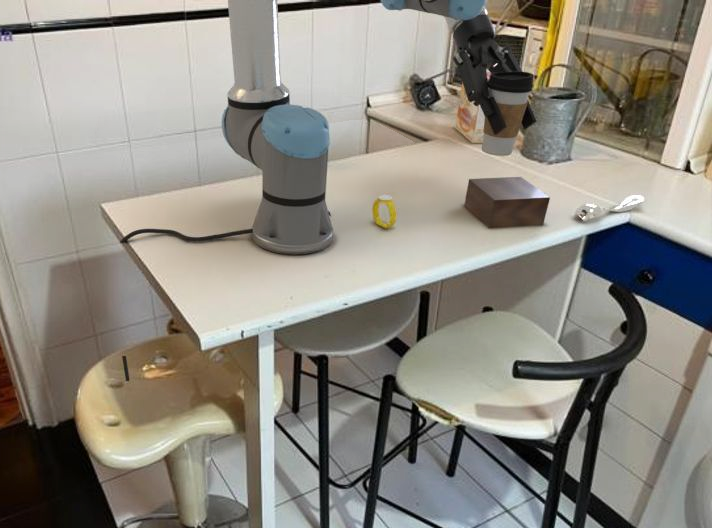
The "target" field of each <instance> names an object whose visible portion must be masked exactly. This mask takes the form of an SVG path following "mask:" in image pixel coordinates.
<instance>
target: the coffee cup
mask: <svg viewBox="0 0 712 528" xmlns="http://www.w3.org/2000/svg"><path fill="white" fill-rule="evenodd" d="M534 78H535V74H534V73H531V72H529V71H523V72H494V73H491V75H490V78H489V80H488V88H489V97H488V98H490V97H492V96H493V97H494V99H495V101H496V104H497V106H498V108H499V110H500V113H501V115H502V117H503V119H504V122H505V124H506V126H507V127H506V128H505V129H503V130H502V131H501V132H500V133H498V134H496V135H494V133H493V130H492V128H491V126H490V123H489V121H488V119H487V118H486V117H485V121H484V134H483V143H481V151H482V152H483V153H485V154H488V155H491V156H498V157H507V156H510V155H512V153H513V151H514V148H515V144H516V141H517V137H518V135H519V131H520V128H521V125H522V123H521V122H522V119H523V116H524V113H525V110H526V106H527V103H528V101H529V96H530V93H531V92H532V91H533V88H534V80H535V79H534ZM527 100H528V101H527Z"/></svg>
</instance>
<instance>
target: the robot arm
mask: <svg viewBox="0 0 712 528" xmlns="http://www.w3.org/2000/svg"><path fill="white" fill-rule="evenodd" d="M487 2H488V0H380V3H381V5H382V6H383V7H384V9H386V10H388V11H398V12H399V11H401V12H402V11H403V10H413V11H418V12H422V13H426V14H433V15H437V16H441V17H444V20H445V22H446V24H447V27H448V29H449V31H450V33H451V34H452V39H453V41H454V43H455V45H456V48H457V50H458V52H457V53H456V54H455V55H454V56H453V57H452V61H453V62H454V63H455V65H456V67H457V69H458V72H459V76H460V78H461V83H462V82H463V85H464V88H465V92H466V95H467V98H468V101H469V102H473V101H475V102H474V103H473V104H474V105H475V106H478V105H480V106H481V109H482V111H483V113H484V116H485V117H486V118H487V119H488V121H489V123H490V126H491V128H492V130H493V133H494V135H496V134H498V133H500V132H501V131H502V130H503V129H505V128H506V127H507V126H506V124H505V122H504V119H503V117H502V115H501V113H500V110H499V108H498V106H497V104H496V101H495V99H494V97H493V96H492V97H490V98H488V97H489V90H488V80H487V71H486V69H488V70H489V71H490V72H491V73H494V72H524V71H523V70H522V68H521V66H520V65H519V63H518V61H517V60H516V58H515V56H514V54H513V50H512V47H511V45H509V44H506V45H505V46H504V47H503V46H500V45H499V44H498V43H497V42H496V40H495V34H496V28H495V27H494V24H493V22H492V21H491V18H490V16H489V15H488V10H487V8H486V6H485V5H486V4H487ZM227 8H228V19H229V20H228V21H229V31H230V42H231V43H230V44H231V45H230V46H231V56H232V66H233V80H234V83H233V86H232V87H231V88H230V89H229V90H228V92H227V94H226V95H227V96H226V97H227V106H226V109H224V110H223V113H222V117H221V130H222V135H223V137H224V140H225V142H226V143H227V145H228V146H229V147H230V148H231V149H232V151H234V153H235V154H236V155H238V156H239V157H241V158H242V159H243V160H247V161H248V162H249V163H251V164H252V165H254V166H255V167H257V168H258V169H259V170H260V171H261V172H262V174H261V175H262V177H261V178H262V186H261V187H262V193H261V194H262V195H261V196H262V197H261V200H260V203H259V207H258V209H257V212H256V215H255V218H254V220H253V224H252V228H248V229H241V230H234V231H229V232H223V233H219V234H218V233H216V234H211V235H206V236H188V235H186V234H183V233H181V232H179V231H178V230H177V231H176V230H173V229H164V228H163V229H162V228H140V229H137V230H133V231H131V232H129V233H127V234H126V235H125V236H124V237H123V238H122V239H121V240H120V241H119V243H120V244H125V243H126V242H127V241H128V240H130V239H131V238H133V237H135V236H137V235H142V234H164V235H165V234H167V235H173V236H176V237H178V238H180V239H181V240H184V241H187V242H206V241H207V242H208V241H211V240H218V239H219V240H220V239H225V238H229V237H236V236H240V235H246V234H247V235H248V234H252V235H251V237H252V241H253V242H254V243H255V245H257V246H259V247H261V248H262V249H264V250H266V251H269V252H273V253H276V254H282V255H307V254H312V253H317V252H320V251H322V250H325V249H326V248H328V247H329V246H331V244H332V242H333V240H334V239H333V238H334V227H333V223H332V220H331V217H332V214H331V212H330V211H329V210H328V206H327V201H326V195H327V194H326V193H327V179H328V165H329V163H328V161H329V148H330V144H331V138H330V125H329V122H328V119H327V118H326V116H325V115H324V114H322V113H321V112H320V111H317V109H314V108H312V107H308V106H307V107H303V106H302V105H299V104H291V97H290V96H291V95H290V89H289V88H288V87H287V86H286V85H285V84H284V83H283V82H282V80H281V78H282V77H281V56H280V34H279V31H280V30H279V12H278V11H279V8H278V0H227ZM496 63H497V65H496V66H495V67H494V65H495V64H496ZM472 91H474V92H473V93H472ZM527 101H528V103H527V106H526V110H525V113H524V116H523V119H522V122H521V125H522V127H523V129H524V130H528V129H529V128H530V127H532V126H533V125H534V124H535V123H537V122H538V120H537V118H536V116H535V114H534V112H533V109H532V106H531V103H530V101H529V99H528V100H527ZM121 359H122V365H123V371H124V372H123V373H124V377H125V378H124V379H125V382H126V381H129V380H130V373H129V367H128V361H127V355H122V356H121Z"/></svg>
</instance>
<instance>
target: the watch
mask: <svg viewBox="0 0 712 528" xmlns="http://www.w3.org/2000/svg"><path fill="white" fill-rule="evenodd" d="M381 203H382V204H386V206H387V209H388V212H389V220H388V223H385V222H383V221H382V219H381V217H380V213H379V206H380V204H381ZM371 214H372V218H373V220H374V223H375V224H376V225H378V226H380V227H382V228H384V229H389V228H392V227H393V226H394V225H395V222H396V220H397V209H396V206H395V204H394V203H393V197H392V196H390V195H386V194H385V195H384V194H382V195H378V196H377V199H375V201H373V204H372V208H371Z"/></svg>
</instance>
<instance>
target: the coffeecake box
mask: <svg viewBox="0 0 712 528" xmlns="http://www.w3.org/2000/svg"><path fill="white" fill-rule="evenodd" d="M497 64H498V62H497V63H496V64H495V65H494V67H495V66H496V65H497ZM486 71H487V80H489V78H490V75H491V72H490V71H489V70H488V69H486ZM488 90H489V88H488ZM473 92H474V91H472V93H473ZM459 94H460V95H459V102H458V107H457V114H456V119H455V126H454V128H455V129H456V131H458V132H459V133H460V134H461V135H462V136H464V137H465V138H466V139H467V140H468V141H469V142H470V143H471V144H482V143H483V134H484V121H485V116H484V113H483V111H482V109H481V106H480V105H478V106H475V105H474V104H473V103H474V102H475V101H473V102H469V101H468V98H467V95H466V92H465V88H464V85H463V82H462V81H461V89H460V93H459Z"/></svg>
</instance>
